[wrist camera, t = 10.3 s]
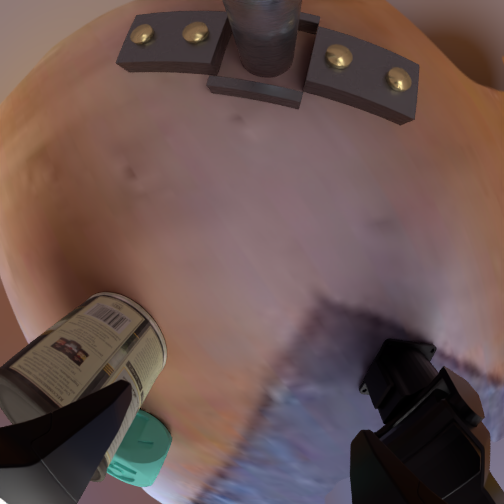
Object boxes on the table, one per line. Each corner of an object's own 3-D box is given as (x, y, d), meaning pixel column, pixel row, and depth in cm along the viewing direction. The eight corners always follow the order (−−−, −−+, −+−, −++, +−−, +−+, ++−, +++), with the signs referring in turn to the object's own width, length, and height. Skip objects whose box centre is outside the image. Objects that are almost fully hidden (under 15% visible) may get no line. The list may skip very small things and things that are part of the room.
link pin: (310, 53, 16) (351, -92, 2) (272, 93, 17) (267, -62, 3) (261, 24, 16) (241, -117, 1) (222, 61, 17) (150, -77, 2)
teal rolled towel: (178, 426, 26) (158, 477, 18) (162, 450, 28) (145, 492, 20) (118, 395, 26) (88, 439, 18) (111, 423, 28) (88, 462, 20)
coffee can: (99, 372, 25) (34, 453, 11) (70, 290, 23) (-29, 357, 9) (179, 384, 24) (127, 498, 10) (155, 291, 22) (49, 400, 8)
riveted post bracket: (407, 61, 15) (422, 47, 12) (397, 143, 17) (415, 137, 14) (153, 14, 16) (140, -1, 13) (124, 88, 18) (105, 77, 15)
